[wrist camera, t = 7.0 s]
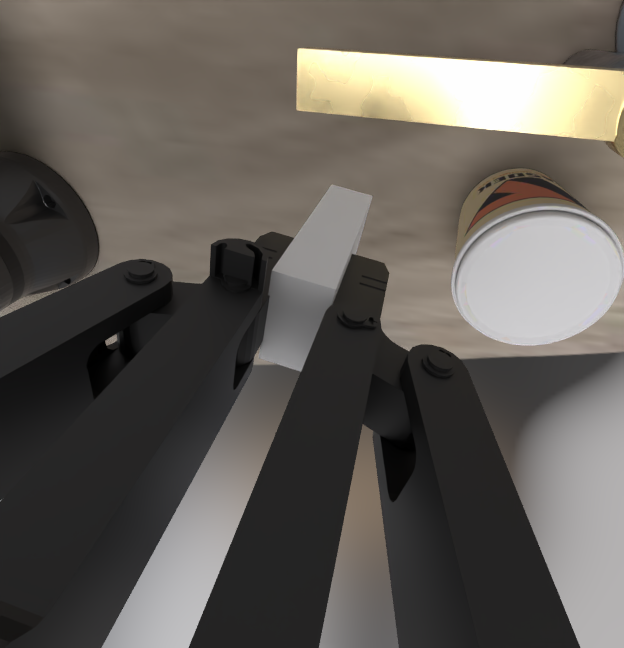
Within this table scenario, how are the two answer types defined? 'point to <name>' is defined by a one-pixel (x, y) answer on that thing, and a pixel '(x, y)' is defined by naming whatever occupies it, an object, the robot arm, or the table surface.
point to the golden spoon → (465, 92)
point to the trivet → (620, 31)
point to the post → (597, 59)
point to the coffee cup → (532, 260)
